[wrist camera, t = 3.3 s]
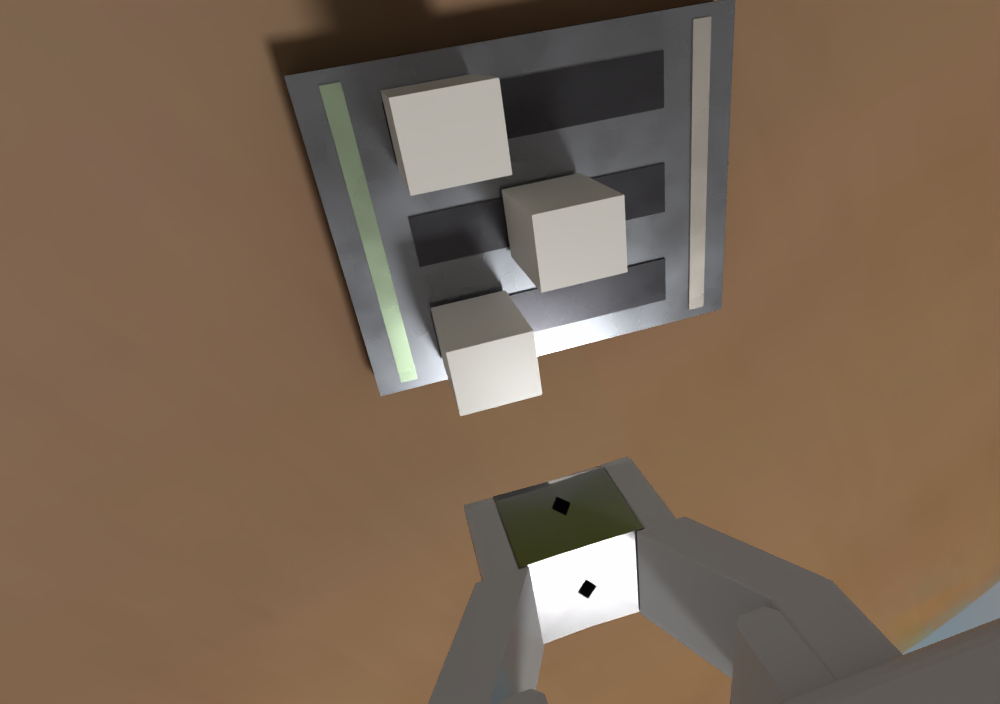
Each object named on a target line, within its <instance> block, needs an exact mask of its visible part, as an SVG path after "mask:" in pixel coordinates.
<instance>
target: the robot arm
mask: <svg viewBox="0 0 1000 704" xmlns="http://www.w3.org/2000/svg"><path fill="white" fill-rule="evenodd" d="M464 510H465V515H466V519H467V523H468V527H469V531H470V535H471V539H472V544H473V548H474V552H475V556H476V560H477V564H478V568H479V572H480V576H481V580H482V581H481V582H478V583H476V584H475V586H474V589H473V591H472V594H471V597H470V599H469V602H468V604H467V607H466V609H465V612H464V614H463V617H462V619H461V622H460V624H459V627H458V629H457V632H456V635H455V637H454V640H453V642H452V645H451V647H450V650H449V652H448V655H447V657H446V660H445V662H444V665H443V667H442V670H441V672H440V675H439V678H438V680H437V683H436V685H435V688H434V690H433V693H432V695H431V698H430V700H429V703H428V704H548V702H547V699H546V697H545V694H543V693H541V692H538V691H536V686H537V681H538V676H539V671H540V666H541V661H542V656H543V651H544V645H543V644H545V643H548V642H550V641H553V640H556V639H558V638H561V637H564V636H566V635H569V634H572V633H574V632H577V631H580V630H582V629H585V628H588V627H590V626H594V625H597V624H600V623H603V622H606V621H610V620H613V619H616V618H619V617H623V616H626V615H629V614H632V613H635V612H639V611H640V614H642V615H643V616H644V617H646V618H647V619H649V620H650V621H651V622H653V623H654V624H656V625H657V626H658V627H660V628H661V629H663V630H664V631H665V632H667V633H668V634H670V635H671V636H672V637H674V638H675V639H677V640H678V641H679V642H681V643H682V644H684V645H685V646H687V647H688V648H689V649H691V650H692V651H694V652H695V653H696V654H698V655H699V656H701V657H702V658H703V659H705V660H706V661H708V662H709V663H710V664H712V665H713V666H715V667H716V668H717V669H719V670H720V671H722V672H723V673H724V674H726V675H727V676H729V677H730V678H731V679H732V686H731V697H730V704H1000V618H999V619H996V620H994V621H991V622H988V623H986V624H983V625H980V626H978V627H975V628H973V629H970V630H967V631H965V632H962V633H960V634H957V635H955V636H952V637H949V638H947V639H944V640H941V641H939V642H936V643H934V644H931V645H928V646H926V647H923V648H921V649H918V650H915V651H913V652H910V653H907V654H905V655H902V654H901V652H900V651H899V650H898V649H897V648H896V647H895V646H894V645H893V644H892V643H891V642H890V641H889V640H888V639H887V638H886V637H885V636H884V635H883V634H882V633H881V632H880V630H879V629H878V628H877V627H876V626H875V625H874V624H873V623H872V622H871V621H870V620H869V619H868V618H867V617H866V616H865V615H864V614H863V613H862V612H861V611H860V610H859V609H858V607H857V606H856V605H855V604H854V603H853V602H852V601H851V600H850V599H849V598H848V597H847V596H846V595H845V594H844V593H843V592H842V591H841V590H840V589H839V588H838V587H837V585H836V584H835V583H834V582H833V581H832V580H829V579H827V578H825V577H822V576H820V575H818V574H816V573H813V572H811V571H809V570H806V569H804V568H802V567H799V566H797V565H795V564H793V563H790V562H788V561H786V560H783V559H781V558H779V557H776V556H774V555H772V554H770V553H767V552H765V551H763V550H760V549H758V548H756V547H753V546H751V545H749V544H747V543H744V542H742V541H740V540H737V539H735V538H733V537H730V536H728V535H726V534H724V533H721V532H719V531H717V530H714V529H712V528H710V527H707V526H705V525H703V524H701V523H698V522H696V521H694V520H691V519H689V518H687V517H682V518H678V519H676V518H675V516H674V515H673V514H672V512H671V511H670V510H669V508H668V507H667V506H666V504H665V503H664V502H663V500H662V499H661V498H660V496H659V495H658V494H657V493H656V491H655V490H654V489H653V487H652V486H651V485H650V483H649V482H648V481H647V479H646V478H645V477H644V475H643V474H642V473H641V471H640V470H639V469H638V467H637V466H636V465H635V463H634V462H633V461H632V460H631V459H630V458H628V457H625V458H621V459H618V460H615V461H612V462H609V463H606V464H602V465H600V466H597V467H594V468H591V469H587V470H584V471H581V472H577V473H574V474H571V475H568V476H564V477H561V478H558V479H555V480H551V481H548V482H545V483H542V484H538V485H534V486H531V487H527V488H523V489H520V490H516V491H512V492H509V493H505V494H501V495H498V496H494V497H493V499H492V498H489V499H485V500H482V501H478V502H474V503H470V504H467V505H464Z"/></svg>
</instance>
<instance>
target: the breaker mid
mask: <svg viewBox="0 0 1000 704" xmlns="http://www.w3.org/2000/svg"><path fill="white" fill-rule="evenodd" d="M502 197H503V204H504V210H505V217H506V224H507V231H508V238H509V245H510V251H511V257H512V258H513V259H514V261H515V262H516V263H517V264H518V265H519V267H520V268H521V269H522V270H523V271H524V273H525V274H526V275H527V276H528V277H529V279H530V280H531V281H532V282H533V283H534V285H535V286H536V287H537V288H538V289H539V291H540V292H541V293H543V292H547V291H551V290H555V289H559V288H564V287H568V286H572V285H576V284H580V283H584V282H589V281H593V280H597V279H601V278H605V277H610V276H614V275H618V274H622V273H626V272H628V270H627V246H626V222H625V199H624V194H622V193H620V192H618V191H616V190H614V189H611V188H609V187H607V186H605V185H603V184H601V183H599V182H597V181H595V180H593V179H591V178H589V177H587V176H585V175H583V174H581V173H577V174H573V175H568V176H563V177H559V178H554V179H549V180H544V181H540V182H535V183H530V184H525V185H521V186H516V187H511V188H507V189H502Z"/></svg>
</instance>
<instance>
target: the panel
mask: <svg viewBox="0 0 1000 704" xmlns="http://www.w3.org/2000/svg"><path fill="white" fill-rule="evenodd" d="M734 15H735V0H718V1H712V2H706V3H700V4H695V5H689V6H683V7H677V8H671V9H666V10H660V11H654V12H648V13H643V14H637V15H631V16H625V17H620V18H614V19H608V20H602V21H597V22H591V23H585V24H579V25H574V26H568V27H562V28H556V29H550V30H545V31H539V32H533V33H527V34H522V35H516V36H510V37H504V38H499V39H493V40H487V41H481V42H476V43H470V44H464V45H458V46H452V47H447V48H441V49H435V50H429V51H424V52H418V53H412V54H406V55H401V56H395V57H389V58H383V59H378V60H372V61H366V62H360V63H355V64H349V65H343V66H337V67H331V68H326V69H320V70H314V71H308V72H303V73H297V74H291V75H286V76H284V78H285V81H286V84H287V88H288V91H289V94H290V98H291V101H292V104H293V108H294V111H295V114H296V117H297V121H298V124H299V127H300V131H301V134H302V137H303V141H304V144H305V147H306V151H307V154H308V157H309V160H310V164H311V167H312V170H313V174H314V177H315V180H316V184H317V187H318V190H319V193H320V197H321V200H322V203H323V207H324V210H325V213H326V217H327V220H328V223H329V227H330V230H331V233H332V236H333V240H334V243H335V246H336V250H337V253H338V256H339V260H340V263H341V266H342V270H343V273H344V276H345V279H346V283H347V286H348V289H349V293H350V296H351V299H352V303H353V306H354V309H355V312H356V316H357V319H358V322H359V326H360V329H361V332H362V336H363V339H364V342H365V346H366V349H367V352H368V355H369V359H370V362H371V365H372V369H373V372H374V375H375V379H376V382H377V385H378V388H379V392H380V395H381V396H384V395H388V394H391V393H395V392H399V391H403V390H407V389H411V388H415V387H419V386H423V385H427V384H431V383H435V382H438V381H442V380H446V379H448V377H447V373H446V370H445V367H444V364H443V360H442V355H441V351H440V347H439V342H438V338H437V334H436V329H435V325H434V321H433V316H432V312H431V308H432V307H437V306H441V305H445V304H449V303H453V302H458V301H462V300H466V299H470V298H475V297H479V296H483V295H487V294H491V293H496V292H500V291H504V290H506V292H507V293H508V295H509V296H510V298H511V299H512V300H513V302H514V303H515V305H516V306H517V308H518V309H519V311H520V312H521V313H522V315H523V316H524V318H525V319H526V321H527V322H528V324H529V325H530V326H531V328H532V329H533V331H534V338H535V345H536V353H537V356H540V355H544V354H548V353H552V352H556V351H560V350H564V349H568V348H572V347H575V346H579V345H583V344H587V343H591V342H595V341H599V340H603V339H607V338H611V337H615V336H619V335H622V334H626V333H630V332H634V331H638V330H642V329H646V328H650V327H654V326H658V325H662V324H665V323H669V322H673V321H677V320H681V319H685V318H689V317H693V316H697V315H701V314H705V313H709V312H712V311H716V310H720V309H721V305H722V283H723V260H724V238H725V216H726V194H727V171H728V149H729V127H730V104H731V82H732V60H733V38H734ZM469 74H475V75H483V76H490V77H498V78H499V80H500V87H501V95H502V102H503V110H504V117H505V124H506V132H507V139H508V146H509V154H510V161H511V168H512V175H509V176H504V177H499V178H495V179H490V180H485V181H480V182H475V183H471V184H466V185H461V186H456V187H451V188H447V189H442V190H437V191H432V192H427V193H423V194H418V195H413V196H410V193H409V191H408V189H407V187H406V185H405V183H404V181H403V179H402V177H401V175H400V173H399V169H398V164H397V160H396V155H395V151H394V147H393V142H392V138H391V134H390V129H389V125H388V121H387V116H386V112H385V108H384V103H383V99H382V95H381V90H386V89H392V88H397V87H403V86H408V85H414V84H419V83H425V82H430V81H436V80H441V79H447V78H452V77H458V76H464V75H469ZM577 173H581V174H583V175H585V176H587V177H589V178H591V179H593V180H595V181H597V182H599V183H601V184H603V185H605V186H607V187H609V188H611V189H614V190H616V191H618V192H620V193H622V194H624V199H625V222H626V246H627V270H628V272H626V273H622V274H618V275H614V276H610V277H605V278H601V279H597V280H593V281H589V282H584V283H580V284H576V285H572V286H568V287H564V288H559V289H555V290H551V291H547V292H543V293H541V292H540V291H539V289H538V288H537V287H536V286H535V285H534V283H533V282H532V281H531V280H530V279H529V277H528V276H527V275H526V274H525V273H524V271H523V270H522V269H521V268H520V267H519V265H518V264H517V263H516V262H515V261H514V259H513V258H512V257H511V251H510V245H509V238H508V231H507V224H506V217H505V210H504V204H503V197H502V189H507V188H511V187H516V186H521V185H525V184H530V183H535V182H540V181H544V180H549V179H554V178H559V177H563V176H568V175H573V174H577Z"/></svg>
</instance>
